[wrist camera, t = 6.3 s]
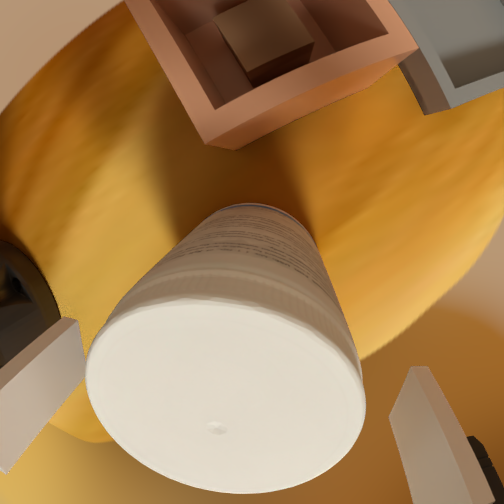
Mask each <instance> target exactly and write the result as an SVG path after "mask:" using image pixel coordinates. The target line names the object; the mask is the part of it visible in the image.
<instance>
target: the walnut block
mask: <svg viewBox="0 0 504 504" xmlns="http://www.w3.org/2000/svg"><path fill="white" fill-rule="evenodd" d="M212 19H213V20H214V22H215V24H216V26H217V28H218V30H219V32H220V34H221V36H222V38H223V40H224V42H225V43H226V45H227V46H228V48H229V49H230V51H231V53H232V54H233V56H234V57H235V59H236V61H237V62H238V64H239V65H240V67H241V69H242V70H243V72H244V74H245V75H246V77H247V79H248V80H249V82H250V84H251V85H252V87H253V88H255V87H257V86H259V85H261V84H263V83H265V82H267V81H270V80H272V79H274V78H276V77H278V76H280V75H282V74H284V73H286V72H289V71H291V70H293V69H295V68H298V67H300V66H302V65H304V64H307V63H309V60H310V57H311V53H312V50H313V46H314V43H315V41H314V39H313V38H312V36H311V35H310V33H309V32H308V30H307V29H306V27H305V26H304V24H303V23H302V22H301V20H300V19H299V17H298V16H297V14H296V13H295V12H294V10H293V9H292V8H291V6H290V5H289V4H288V2H287V1H286V0H249V1H246V2H244V3H242V4H240V5H238V6H235V7H233V8H231V9H229V10H227V11H225V12H223V13H221V14H219V15H217V16H215V17H213V18H212Z"/></svg>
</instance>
